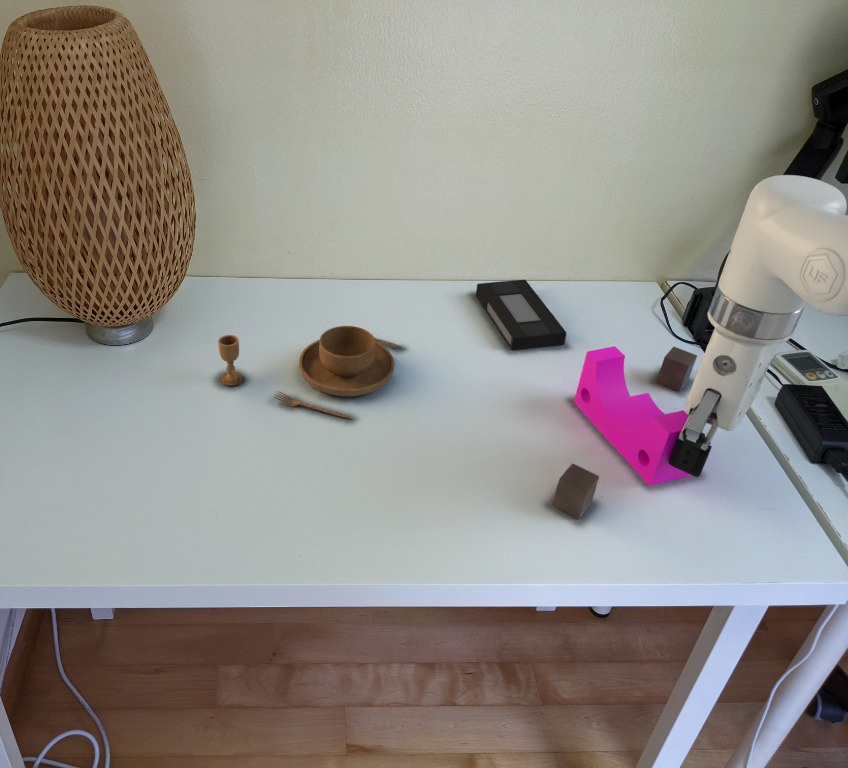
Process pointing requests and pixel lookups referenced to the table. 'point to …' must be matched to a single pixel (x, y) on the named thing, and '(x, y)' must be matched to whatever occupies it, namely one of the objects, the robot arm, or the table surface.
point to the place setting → (330, 364)
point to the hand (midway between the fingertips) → (700, 445)
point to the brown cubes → (582, 483)
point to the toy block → (629, 417)
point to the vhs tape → (520, 315)
